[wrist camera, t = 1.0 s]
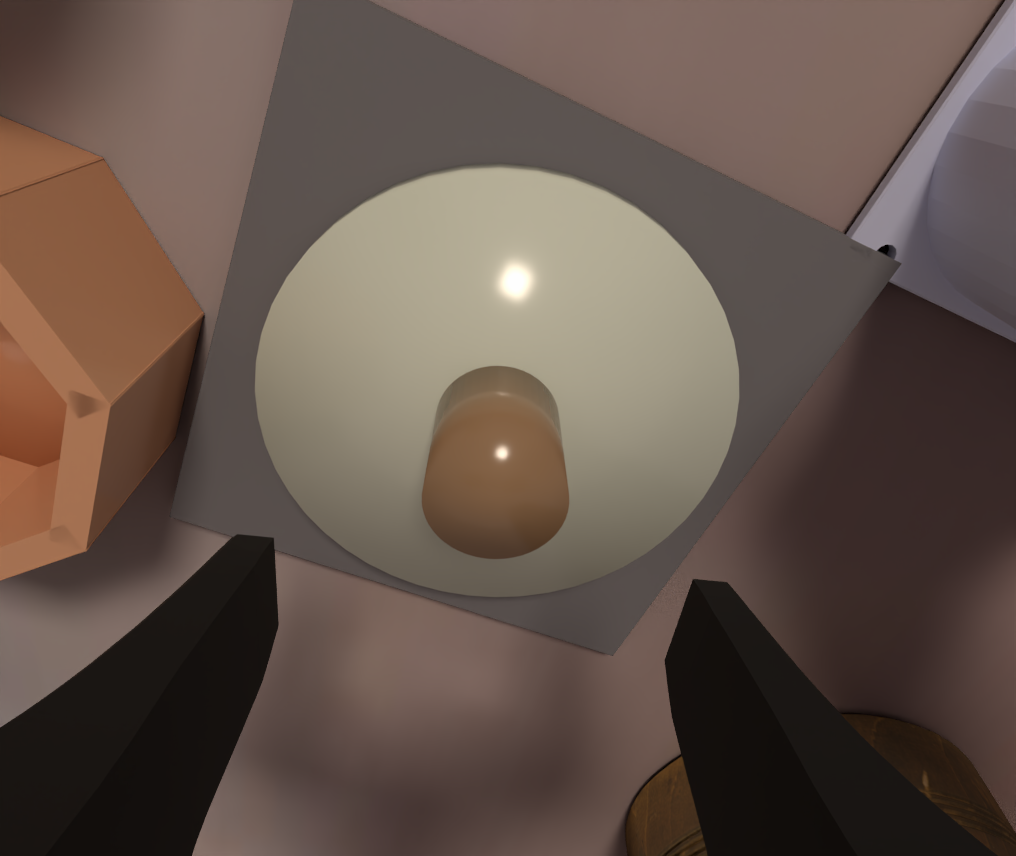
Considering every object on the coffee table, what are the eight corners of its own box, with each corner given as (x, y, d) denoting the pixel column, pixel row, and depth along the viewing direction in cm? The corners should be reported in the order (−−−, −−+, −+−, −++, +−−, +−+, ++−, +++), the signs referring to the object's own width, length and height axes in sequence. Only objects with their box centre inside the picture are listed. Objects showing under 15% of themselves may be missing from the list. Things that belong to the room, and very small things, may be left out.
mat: (890, 256, 18) (901, 263, 17) (610, 642, 25) (612, 656, 24) (308, -30, 15) (301, -31, 14) (177, 504, 22) (169, 516, 21)
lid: (825, 289, 17) (915, 368, 14) (596, 618, 23) (614, 740, 19) (343, 65, 15) (285, 85, 11) (222, 498, 21) (156, 610, 17)
